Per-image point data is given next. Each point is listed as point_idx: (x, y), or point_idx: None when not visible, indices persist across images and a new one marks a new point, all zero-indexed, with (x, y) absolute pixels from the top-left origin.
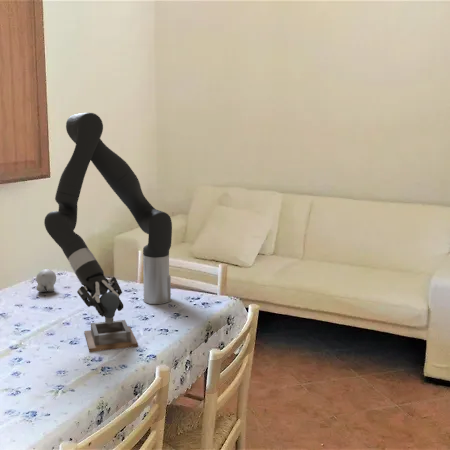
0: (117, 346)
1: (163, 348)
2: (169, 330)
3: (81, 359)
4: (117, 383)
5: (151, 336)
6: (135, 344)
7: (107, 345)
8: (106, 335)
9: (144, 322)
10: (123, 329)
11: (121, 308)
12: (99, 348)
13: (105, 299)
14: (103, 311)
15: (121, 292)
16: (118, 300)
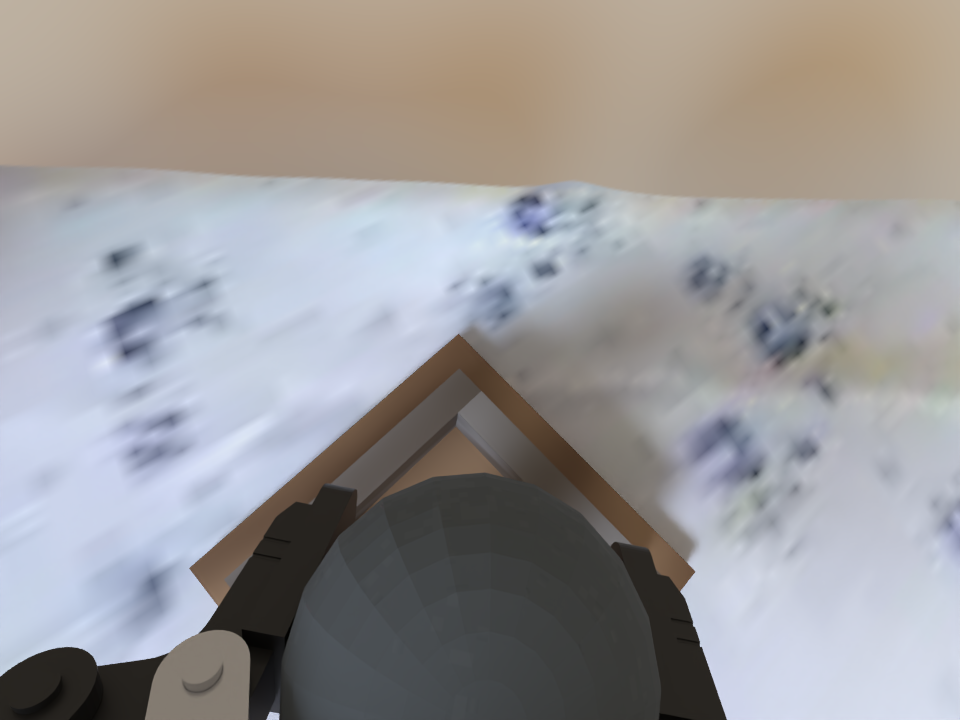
0: (551, 429)
1: (415, 207)
2: (133, 297)
3: (787, 539)
4: (848, 211)
5: (276, 349)
6: (468, 347)
7: (585, 490)
8: (592, 508)
9: (13, 545)
10: (369, 500)
11: (356, 496)
12: (638, 518)
13: (647, 640)
14: (652, 583)
15: (42, 665)
16: (422, 483)
